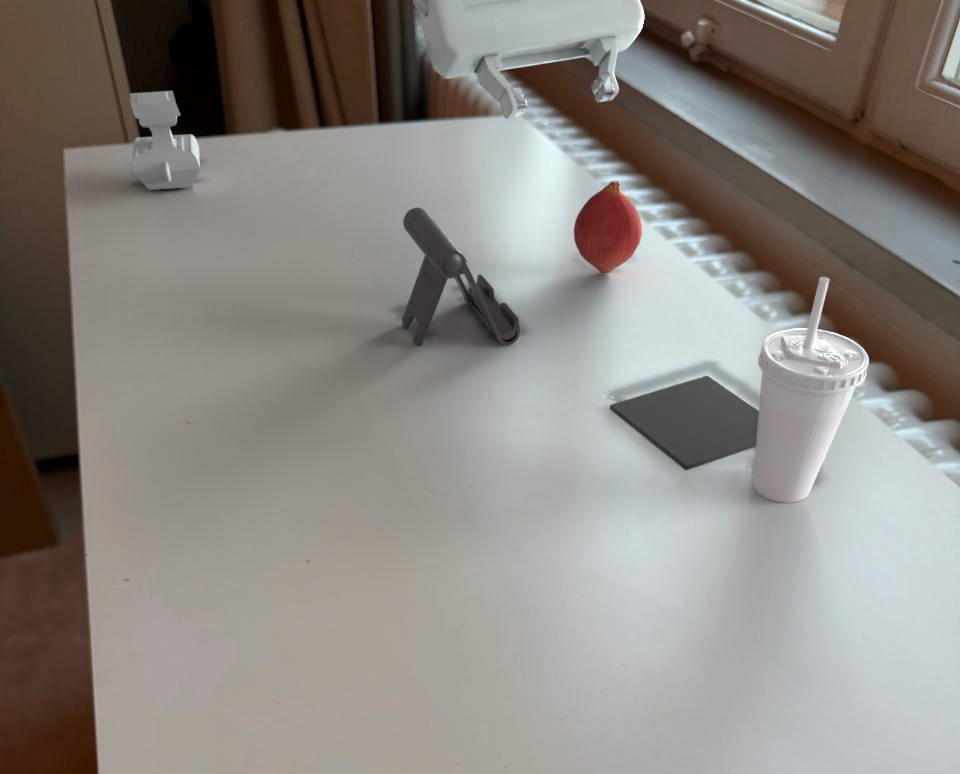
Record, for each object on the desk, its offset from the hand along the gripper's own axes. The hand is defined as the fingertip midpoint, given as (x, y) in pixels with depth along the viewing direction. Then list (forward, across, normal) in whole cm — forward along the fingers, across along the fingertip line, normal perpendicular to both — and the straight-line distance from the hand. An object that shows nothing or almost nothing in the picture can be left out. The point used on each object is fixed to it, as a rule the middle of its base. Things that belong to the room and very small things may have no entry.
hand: (563, 105), depth 89 cm
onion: (+14, 0, +2) cm, 15 cm away
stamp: (-14, -28, +30) cm, 43 cm away
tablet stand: (+16, -17, 0) cm, 24 cm away
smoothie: (+38, -9, -21) cm, 44 cm away
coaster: (+31, -9, -15) cm, 35 cm away
